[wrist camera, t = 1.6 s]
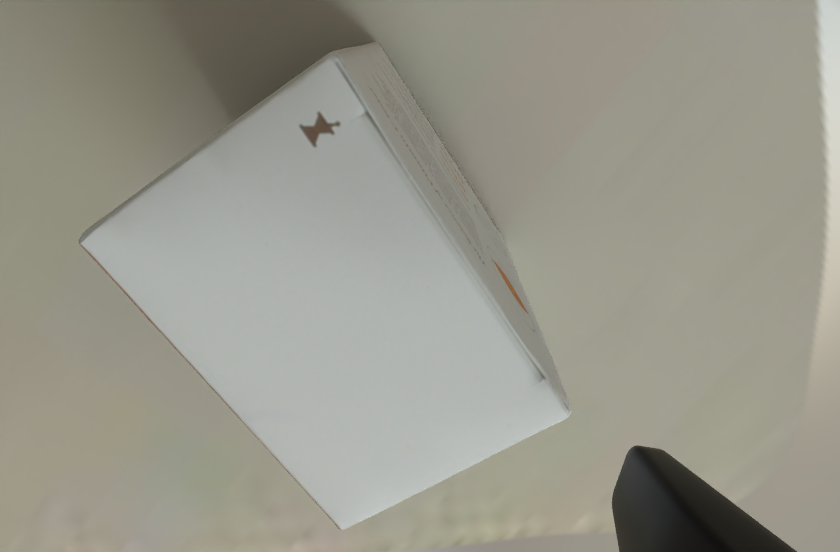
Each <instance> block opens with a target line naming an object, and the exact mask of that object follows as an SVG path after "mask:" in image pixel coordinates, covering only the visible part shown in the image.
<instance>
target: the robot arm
mask: <svg viewBox="0 0 840 552" xmlns="http://www.w3.org/2000/svg"><path fill="white" fill-rule="evenodd" d="M612 509H613V516H614V522H615V528H616V534H617V540H618V545H619V551H620V552H797V551H795V550H794V549H793V548H791V547H790V546H789V545H788V544H786V543H785V542H784V541H782V540H781V539H780V538H778V537H777V536H776V535H774V534H773V533H772V532H770V531H769V530H768V529H766V528H765V527H764V526H762V525H761V524H760V523H759V522H757V521H756V520H755V519H753V518H752V517H751V516H749V515H748V514H747V513H745V512H744V511H743V510H741V509H740V508H739V507H737V506H736V505H735V504H734V503H732V502H731V501H730V500H728V499H727V498H726V497H724V496H723V495H722V494H720V493H719V492H718V491H716V490H715V489H714V488H712V487H711V486H710V485H708V484H707V483H706V482H705V481H703V480H702V479H701V478H699V477H698V476H697V475H695V474H694V473H693V472H691V471H690V470H689V469H687V468H686V467H685V466H683V465H682V464H681V463H680V462H678V461H677V460H676V459H674V458H673V457H672V456H670V455H669V454H668V453H666V452H665V451H663V450H661V449H657V448H650V447H643V446H634V447H632V448H631V449H630V450H629V451H628V453H627V455H626V458H625V461H624V464H623V467H622V469H621V472H620V475H619V478H618V480H617V483H616V486H615V489H614V492H613V497H612Z"/></svg>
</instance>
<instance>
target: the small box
mask: <svg viewBox="0 0 840 552" xmlns="http://www.w3.org/2000/svg"><path fill="white" fill-rule="evenodd" d="M79 244H80V245H81V246H82V247H83V248H84V249H85V250H86V251H87V252H88V253H89V255H90V256H91V257H92V258H93V259H94V260H95V261H96V262H97V263H98V264H99V265H100V266H101V267H102V269H103V270H104V271H105V272H106V273H107V274H108V275H109V276H110V277H111V278H112V280H113V281H114V282H115V283H116V284H117V285H118V286H119V287H120V288H121V289H122V290H123V292H124V293H125V294H126V295H127V296H128V297H129V298H130V299H131V300H132V302H133V303H134V304H135V305H136V306H137V307H138V308H139V309H140V310H141V312H142V313H143V314H144V315H145V316H146V317H147V318H148V319H149V320H150V321H151V323H152V324H153V325H154V326H155V327H156V328H157V329H158V330H159V331H160V332H161V333H162V334H163V335H164V336H165V337H166V338H167V340H168V341H169V342H170V343H171V344H172V345H173V346H174V347H175V349H176V350H177V351H178V352H179V353H180V354H181V355H182V356H183V357H184V358H185V359H186V360H187V361H188V362H189V364H190V365H191V366H192V367H193V368H194V369H195V370H196V371H197V372H198V374H199V375H200V376H201V377H202V378H203V379H204V380H205V381H206V382H207V383H208V384H209V386H210V387H211V388H212V389H213V390H214V391H215V392H216V393H217V394H218V395H219V396H220V398H221V399H222V400H223V401H224V402H225V403H226V404H227V406H228V407H229V408H230V409H231V410H232V411H233V412H234V413H235V414H236V415H237V416H238V418H239V419H240V420H241V421H242V422H243V423H244V424H245V425H246V426H247V427H248V428H249V430H250V431H251V432H252V433H253V434H254V435H255V436H256V437H257V438H258V439H259V440H260V441H261V443H262V444H263V445H264V446H265V447H266V448H267V449H268V450H269V451H270V453H271V454H272V455H273V456H274V457H275V458H276V459H277V460H278V462H279V463H280V464H281V465H282V466H283V467H284V468H285V469H286V470H287V472H288V473H289V474H290V475H291V476H292V477H293V478H294V479H295V480H296V481H297V482H298V483H299V485H300V486H301V487H302V488H303V489H304V490H305V491H306V492H307V494H308V495H309V496H310V497H311V498H312V499H313V500H314V501H315V502H316V504H317V505H318V506H319V507H320V508H321V509H322V510H323V511H324V512H325V513H326V515H327V516H328V517H329V518H330V519H331V520H332V521H333V522H334V523H335V525H336V526H337V527H338V528H339V529H341V530H345V529H347V528H349V527H351V526H352V525H354V524H356V523H359V522H361V521H363V520H365V519H367V518H370V517H372V516H374V515H376V514H378V513H380V512H382V511H384V510H386V509H388V508H390V507H392V506H394V505H396V504H398V503H400V502H401V501H403V500H405V499H407V498H409V497H411V496H413V495H415V494H417V493H419V492H421V491H423V490H425V489H427V488H429V487H431V486H433V485H435V484H437V483H439V482H441V481H443V480H445V479H447V478H449V477H451V476H453V475H455V474H457V473H459V472H461V471H463V470H465V469H467V468H469V467H471V466H473V465H475V464H476V463H478V462H480V461H482V460H484V459H486V458H488V457H490V456H492V455H494V454H496V453H498V452H500V451H502V450H504V449H506V448H508V447H510V446H512V445H514V444H516V443H518V442H520V441H522V440H524V439H526V438H528V437H530V436H532V435H534V434H536V433H538V432H540V431H542V430H544V429H546V428H548V427H550V426H552V425H554V424H556V423H559V422H561V421H563V420H565V419H566V418H567V417H569V416H570V413H571V411H572V409H571V405H570V402H569V400H568V398H567V395H566V392H565V390H564V387H563V385H562V382H561V380H560V377H559V375H558V372H557V370H556V367H555V365H554V362H553V360H552V357H551V355H550V352H549V350H548V348H547V345H546V343H545V340H544V337H543V335H542V332H541V330H540V328H539V325H538V323H537V321H536V318H535V316H534V313H533V311H532V308H531V306H530V303H529V301H528V298H527V296H526V293H525V291H524V288H523V286H522V283H521V281H520V278H519V276H518V273H517V271H516V268H515V266H514V263H513V260H512V258H511V256H510V253H509V250H508V248H507V246H506V243H505V241H504V239H503V237H502V236H501V234H500V233H499V232H498V230H497V229H496V227H495V225H494V224H493V222H492V221H491V219H490V218H489V216H488V214H487V213H486V211H485V210H484V208H483V207H482V205H481V203H480V202H479V200H478V199H477V197H476V196H475V194H474V192H473V191H472V189H471V188H470V186H469V185H468V183H467V181H466V180H465V178H464V177H463V175H462V174H461V172H460V171H459V169H458V167H457V166H456V164H455V163H454V161H453V160H452V158H451V156H450V155H449V153H448V152H447V150H446V149H445V147H444V145H443V144H442V142H441V141H440V139H439V138H438V136H437V135H436V133H435V131H434V130H433V128H432V127H431V125H430V124H429V122H428V120H427V119H426V117H425V116H424V114H423V113H422V111H421V109H420V108H419V106H418V105H417V103H416V102H415V100H414V98H413V97H412V95H411V94H410V92H409V91H408V89H407V87H406V86H405V84H404V83H403V81H402V80H401V78H400V76H399V75H398V73H397V72H396V70H395V68H394V67H393V65H392V64H391V62H390V60H389V59H388V57H387V55H386V54H385V52H384V50H383V49H382V47H381V46H380V44H379V43H378V42H372V43H368V44H365V45H361V46H355V47H349V48H343V49H340V50H335V51H332V52H329V53H328V54H327V55H325V56H324V57H322V58H321V59H320V60H318V61H317V62H315V63H314V64H313V65H311V66H310V67H308V68H307V69H306V70H304V71H303V72H301V73H300V74H299V75H297V76H296V77H294V78H293V79H292V80H290V81H289V82H287V83H286V84H285V85H283V86H282V87H281V88H279V89H278V90H276V91H275V92H274V93H272V94H271V95H269V96H268V97H267V98H265V99H264V100H262V101H261V102H260V103H258V104H257V105H255V106H254V107H253V108H251V109H250V110H248V111H247V112H246V113H244V114H243V115H241V116H240V117H239V118H237V119H236V120H235V121H233V122H232V123H230V124H229V125H228V126H226V127H225V128H224V129H222V130H221V131H219V132H218V133H217V134H215V135H214V136H213V137H211V138H210V139H209V140H207V141H206V142H204V143H203V144H202V145H200V146H199V147H198V148H196V149H195V150H194V151H192V152H191V153H190V154H188V155H187V156H185V157H184V158H183V159H181V160H180V161H179V162H177V163H176V164H175V165H173V166H172V167H171V168H169V169H168V170H167V171H165V172H164V173H162V174H161V175H160V176H158V177H157V178H156V179H154V180H153V181H152V182H150V183H149V184H148V185H146V186H145V187H144V188H142V189H141V190H140V191H138V192H137V193H136V194H134V195H133V196H132V197H130V198H129V199H128V200H126V201H125V202H124V203H122V204H121V205H120V206H118V207H117V208H115V209H114V210H113V211H111V212H110V213H109V214H107V215H106V216H105V217H103V218H102V219H100V220H99V221H98V222H96V223H95V224H94V225H92V226H91V227H90V228H89V229H87V230H86V231H85V232H84V233H83V234H82V236H81V237H80V239H79Z"/></svg>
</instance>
